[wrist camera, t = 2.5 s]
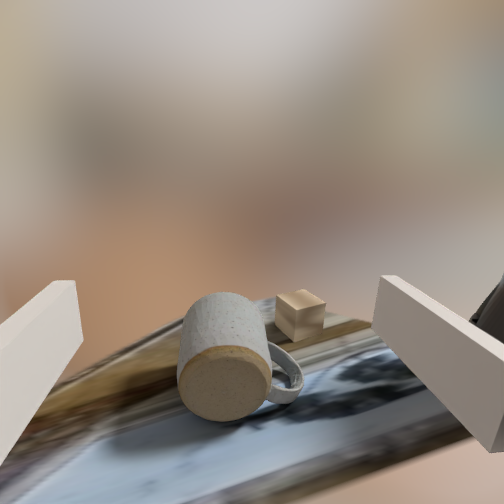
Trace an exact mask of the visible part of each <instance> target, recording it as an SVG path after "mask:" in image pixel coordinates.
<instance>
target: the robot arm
mask: <svg viewBox="0 0 504 504" xmlns="http://www.w3.org/2000/svg"><path fill="white" fill-rule="evenodd" d="M371 329H372V330H373V331H374V332H375V333H376V334H377V335H378V336H379V337H380V338H381V339H382V340H383V341H384V342H385V343H386V344H387V345H388V347H389V348H390V349H391V350H392V351H393V352H394V353H395V354H396V355H397V356H398V357H399V358H400V359H401V360H402V361H403V362H404V363H405V364H406V366H407V367H408V368H409V369H410V370H411V371H412V372H413V373H414V374H415V375H416V376H417V377H418V378H419V379H420V380H421V381H422V382H423V383H424V384H425V386H426V387H427V388H428V389H429V390H430V391H431V392H432V393H433V394H434V395H435V396H436V397H437V398H438V399H439V400H440V401H441V402H442V403H443V405H444V406H445V407H446V408H447V409H448V410H449V411H450V412H451V413H452V414H453V415H454V416H455V417H456V418H457V419H458V420H459V421H460V422H461V423H462V425H463V426H464V427H465V428H466V429H467V430H468V431H469V432H470V433H471V434H472V435H473V436H474V437H475V438H476V439H477V440H478V441H479V442H480V443H481V444H482V445H483V447H484V448H486V450H487V451H488V452H489V453H496V452H504V274H503V277H502V279H501V281H500V282H499V284H498V285H497V286H496V287H495V288H494V290H493V291H492V292H491V293H490V295H489V296H488V297H487V298H486V300H485V301H484V302H483V303H482V305H481V306H480V307H479V309H478V310H477V312H476V313H474V315H473V316H472V317H471V318H470V320H469V322H468V321H467V320H465V319H463V318H462V317H460V316H459V315H457V314H456V313H453V312H452V311H451V310H449V309H448V308H446V307H445V306H443V305H441V304H440V303H438V302H437V301H435V300H433V299H432V298H430V297H429V296H427V295H426V294H424V293H422V292H421V291H419V290H418V289H416V288H415V287H413V286H412V285H410V284H409V283H407V282H405V281H404V280H402V279H401V278H399V277H398V276H395V275H391V276H381V277H380V282H379V287H378V293H377V299H376V304H375V310H374V316H373V321H372V327H371ZM82 342H83V335H82V328H81V320H80V314H79V307H78V299H77V292H76V285H75V281H74V280H66V281H53V282H52V283H51V284H49V285H48V286H47V287H46V288H45V289H43V290H42V291H41V292H40V293H39V294H37V295H36V296H35V297H34V298H33V299H31V300H30V301H29V302H28V303H26V304H25V305H24V306H23V307H22V308H21V309H19V310H18V311H17V312H16V313H14V314H13V315H12V316H11V317H10V318H8V319H7V320H6V321H5V322H3V323H2V324H1V325H0V465H1V464H2V462H3V461H4V459H5V458H6V456H7V455H8V453H9V452H10V450H11V449H12V447H13V446H14V444H15V443H16V441H17V440H18V438H19V437H20V435H21V434H22V432H23V431H24V429H25V428H26V426H27V425H28V423H29V422H30V420H31V419H32V417H33V416H34V414H35V413H36V411H37V410H38V408H39V407H40V405H41V404H42V402H43V400H44V399H45V397H46V396H47V394H48V393H49V391H50V390H51V388H52V387H53V385H54V384H55V382H56V381H57V379H58V378H59V376H60V375H61V373H62V372H63V370H64V369H65V367H66V366H67V364H68V362H69V361H70V360H71V358H72V357H73V355H74V354H75V352H76V351H77V349H78V348H79V346H80V345H81V343H82Z"/></svg>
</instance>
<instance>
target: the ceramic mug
mask: <svg viewBox="0 0 504 504" xmlns="http://www.w3.org/2000/svg"><path fill="white" fill-rule="evenodd" d="M271 360H272V361H274V362H275V363H277V364H278V365H279V366H280V367H282V368H283V369H284V370H285V371H286V372H287V374H288V375H289V378H290V383H291V387H290V389H287V388H282V387H279V386H276V385H273V384H272V383H271V381H272V363H271ZM177 383H178V391H179V394H180V397H181V400H182V401H183V403H184V404H185V406H186V407H187V408H188V409H189V410H190V411H191V412H193V413H194V414H196V415H198V416H200V417H202V418H204V419H207V420H211V421H220V422H224V421H233V420H237V419H240V418H242V417H245V416H247V415H249V414H251V413H252V412H254V411H255V410H256V409H258V408H259V407H260V406H261V405H262V404H263V402H264V401H265V400H268V401H269V402H273V403H276V404H280V403H281V404H284V403H285V404H288V403H291V402H293V401H294V400H295V399H296V398H297V396H298V394H299V393H300V391H301V390H302V388H303V386H304V376H303V372H302V370H301V368H300V366H299V365H298V363H297V362H296V361H295V360H294V358H293V357H292V356H291V355H289V354H288V353H287V352H286V351H284V350H283V349H281V348H280V347H278V346H277V345H275V344H274V343H271V342H269V341H267V337H266V331H265V325H264V320H263V317H262V315H261V313H260V311H259V309H258V308H257V306H256V305H255V304H254V303H252V302H251V301H250V300H249V299H247V298H245V297H243V296H241V295H239V294H235V293H229V292H219V293H213V294H209V295H207V296H204V297H202V298H201V299H199V300H198V301H196V302H195V303H194V304H193V305H192V306H191V308H190V309H189V310H188V312H187V314H186V315H185V318H184V321H183V327H182V335H181V342H180V353H179V359H178V366H177Z"/></svg>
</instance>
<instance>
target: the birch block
mask: <svg viewBox="0 0 504 504" xmlns="http://www.w3.org/2000/svg"><path fill="white" fill-rule="evenodd" d="M325 306H326V303H325V302H324V301H322V300H320V299H319V298H317V297H316V296H314V295H312V294H311V293H309V292H308V291H306V290H304V289H302V290H298V291H294V292H289V293H284V294H279V295H276V310H275V325H276V326H277V327H278V328H279V329H280V330H281V331H282V332H283V333H284V334H285V335H287V336H288V337H289V338H290V339H291V340H292V341H293V342H296V341H300V340H303V339H306V338H309V337H313V336H316V335H319V334H322V332H323V323H324V315H325Z"/></svg>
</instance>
